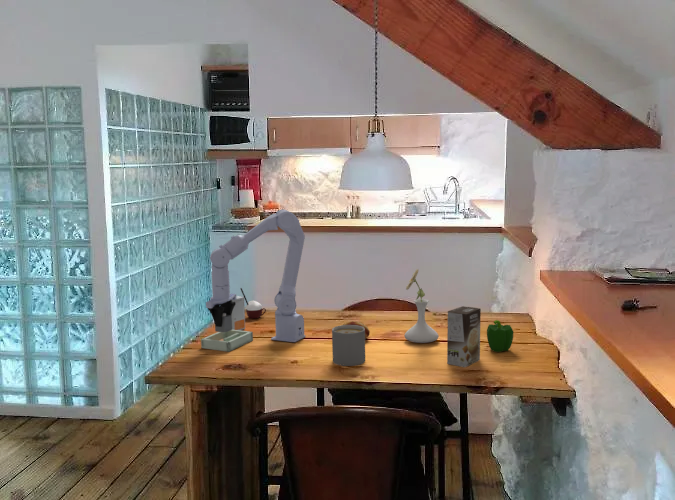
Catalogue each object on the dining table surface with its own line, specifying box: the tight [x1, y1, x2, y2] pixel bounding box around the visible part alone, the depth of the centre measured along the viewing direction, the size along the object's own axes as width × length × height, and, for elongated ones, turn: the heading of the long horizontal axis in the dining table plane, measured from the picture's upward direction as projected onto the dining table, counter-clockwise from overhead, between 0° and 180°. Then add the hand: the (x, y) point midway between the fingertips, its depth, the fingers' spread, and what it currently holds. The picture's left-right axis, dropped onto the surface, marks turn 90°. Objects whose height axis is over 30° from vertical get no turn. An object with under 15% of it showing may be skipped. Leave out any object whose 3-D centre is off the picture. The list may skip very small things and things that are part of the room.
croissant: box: [342, 320, 371, 340], centre depth 224 cm, size 21×10×8 cm, turn 164°
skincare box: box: [231, 295, 246, 331], centre depth 239 cm, size 6×4×12 cm
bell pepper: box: [486, 319, 514, 353], centre depth 208 cm, size 8×8×10 cm
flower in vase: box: [404, 268, 440, 344], centre depth 218 cm, size 13×11×25 cm
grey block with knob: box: [214, 313, 232, 333], centre depth 221 cm, size 4×4×6 cm
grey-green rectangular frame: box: [200, 330, 254, 353], centre depth 222 cm, size 11×14×3 cm
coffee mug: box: [331, 324, 366, 367], centre depth 202 cm, size 13×10×10 cm
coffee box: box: [446, 305, 482, 368], centre depth 196 cm, size 9×6×16 cm
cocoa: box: [240, 287, 267, 320], centre depth 257 cm, size 10×6×12 cm, turn 84°
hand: (222, 324), depth 222 cm, fingers closed on grey block with knob, 4 cm apart
